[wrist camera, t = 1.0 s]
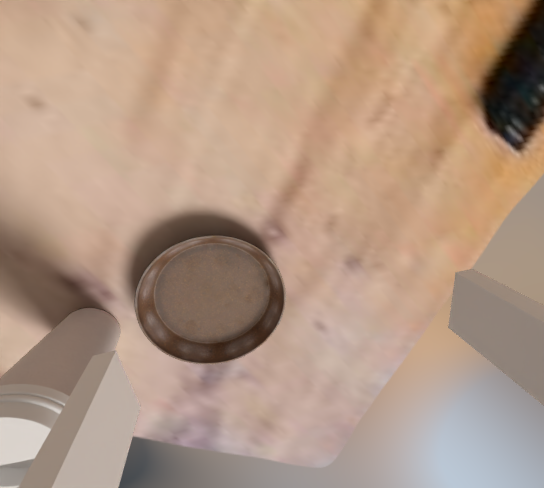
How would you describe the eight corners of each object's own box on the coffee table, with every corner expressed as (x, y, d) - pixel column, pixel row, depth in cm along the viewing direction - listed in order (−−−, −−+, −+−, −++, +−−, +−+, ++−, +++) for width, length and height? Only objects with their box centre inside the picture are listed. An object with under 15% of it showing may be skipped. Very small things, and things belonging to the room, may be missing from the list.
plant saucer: (301, 252, 36) (308, 261, 34) (254, 359, 41) (256, 375, 38) (163, 207, 31) (158, 214, 28) (126, 335, 36) (118, 351, 33)
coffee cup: (43, 355, 34) (-75, 499, 20) (52, 288, 32) (-75, 401, 18) (126, 366, 37) (71, 500, 23) (140, 305, 34) (89, 414, 21)
